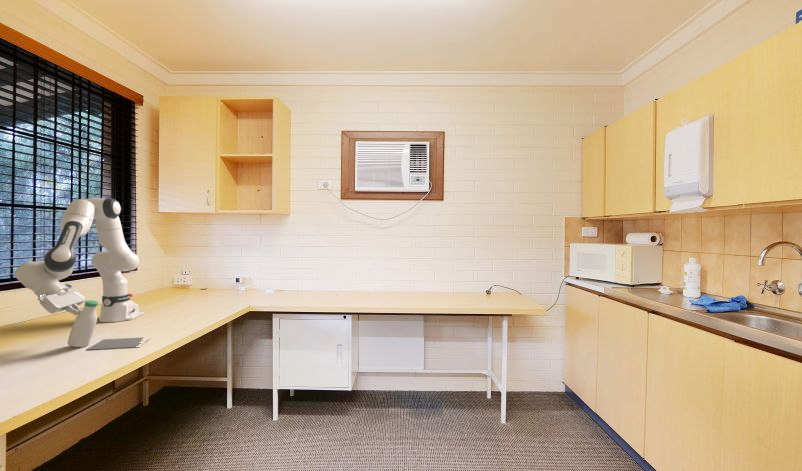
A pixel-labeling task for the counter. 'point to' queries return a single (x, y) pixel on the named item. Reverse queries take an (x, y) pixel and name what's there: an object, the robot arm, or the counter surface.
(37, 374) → the counter surface
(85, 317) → the milk bottle
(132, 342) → the mat
